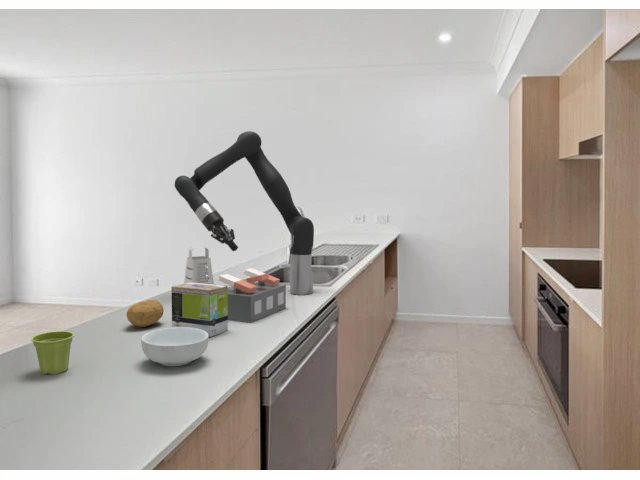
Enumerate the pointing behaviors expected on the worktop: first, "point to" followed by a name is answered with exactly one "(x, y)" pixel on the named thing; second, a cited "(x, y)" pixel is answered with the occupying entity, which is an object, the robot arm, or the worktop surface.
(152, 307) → the potato
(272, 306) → the switch console
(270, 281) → the block
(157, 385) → the worktop surface
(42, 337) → the plant pot
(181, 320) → the tea box
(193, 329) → the cereal bowl
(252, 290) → the rocker
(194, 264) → the grater
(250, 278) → the block
